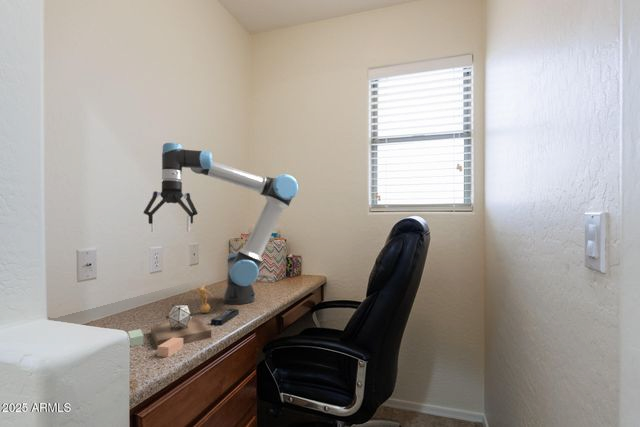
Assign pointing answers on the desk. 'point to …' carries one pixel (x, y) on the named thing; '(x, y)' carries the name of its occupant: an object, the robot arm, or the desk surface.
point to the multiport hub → (224, 317)
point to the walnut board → (181, 332)
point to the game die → (179, 316)
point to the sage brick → (136, 337)
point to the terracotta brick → (170, 347)
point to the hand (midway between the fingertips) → (171, 231)
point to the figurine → (205, 307)
